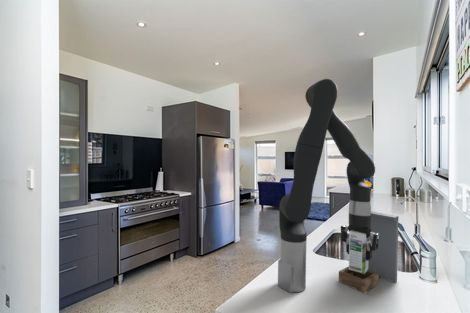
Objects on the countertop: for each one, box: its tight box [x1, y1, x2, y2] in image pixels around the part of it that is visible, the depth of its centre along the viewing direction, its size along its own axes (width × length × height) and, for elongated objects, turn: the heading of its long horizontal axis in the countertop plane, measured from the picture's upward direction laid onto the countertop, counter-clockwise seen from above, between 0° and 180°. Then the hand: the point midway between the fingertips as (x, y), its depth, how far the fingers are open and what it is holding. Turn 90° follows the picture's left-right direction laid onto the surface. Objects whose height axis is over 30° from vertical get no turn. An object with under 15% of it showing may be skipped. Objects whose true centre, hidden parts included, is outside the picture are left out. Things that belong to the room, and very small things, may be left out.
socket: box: [338, 266, 380, 294], centre depth 97 cm, size 10×10×4 cm
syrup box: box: [348, 230, 368, 274], centre depth 97 cm, size 6×6×14 cm
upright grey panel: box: [368, 210, 399, 283], centre depth 104 cm, size 4×16×25 cm, turn 37°
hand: (358, 256), depth 97 cm, fingers closed on syrup box, 6 cm apart
